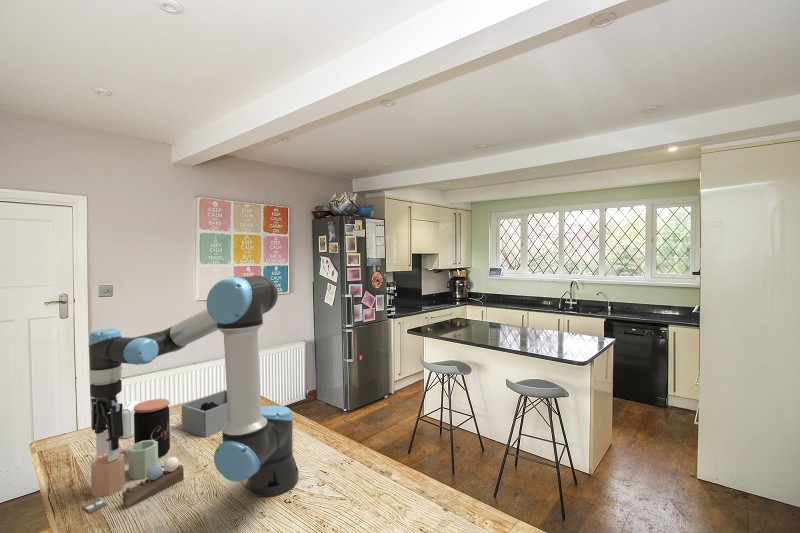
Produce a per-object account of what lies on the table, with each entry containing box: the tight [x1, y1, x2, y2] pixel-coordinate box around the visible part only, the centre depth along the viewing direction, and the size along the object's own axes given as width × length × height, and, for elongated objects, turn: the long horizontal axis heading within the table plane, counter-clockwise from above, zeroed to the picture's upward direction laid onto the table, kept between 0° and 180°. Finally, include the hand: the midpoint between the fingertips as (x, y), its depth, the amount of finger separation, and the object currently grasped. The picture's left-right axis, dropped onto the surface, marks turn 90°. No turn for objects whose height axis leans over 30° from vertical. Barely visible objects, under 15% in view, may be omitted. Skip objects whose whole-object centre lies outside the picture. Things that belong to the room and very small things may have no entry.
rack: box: [122, 464, 185, 509], centre depth 115 cm, size 2×16×5 cm, turn 151°
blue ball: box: [146, 464, 163, 480], centre depth 115 cm, size 4×4×4 cm
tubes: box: [81, 440, 159, 514], centre depth 118 cm, size 12×22×9 cm, turn 151°
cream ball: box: [163, 456, 180, 472], centre depth 119 cm, size 4×4×4 cm
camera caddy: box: [181, 389, 228, 438], centre depth 162 cm, size 16×21×10 cm
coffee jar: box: [133, 398, 171, 459], centre depth 137 cm, size 11×11×18 cm
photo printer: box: [120, 400, 141, 439], centre depth 153 cm, size 10×4×12 cm, turn 13°
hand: (107, 456), depth 116 cm, fingers open, 6 cm apart
